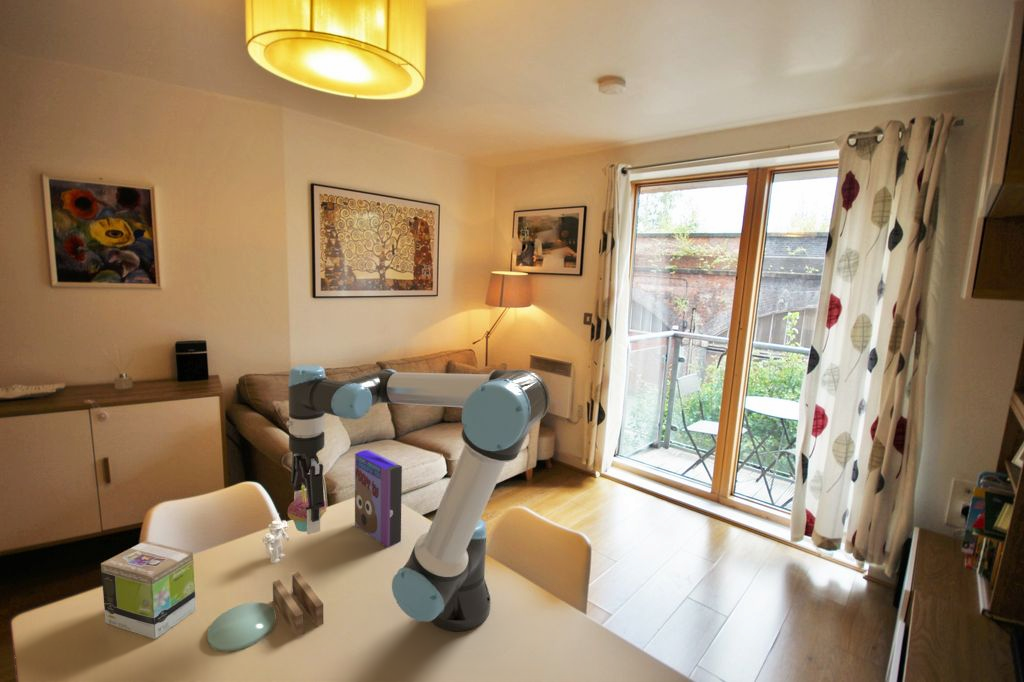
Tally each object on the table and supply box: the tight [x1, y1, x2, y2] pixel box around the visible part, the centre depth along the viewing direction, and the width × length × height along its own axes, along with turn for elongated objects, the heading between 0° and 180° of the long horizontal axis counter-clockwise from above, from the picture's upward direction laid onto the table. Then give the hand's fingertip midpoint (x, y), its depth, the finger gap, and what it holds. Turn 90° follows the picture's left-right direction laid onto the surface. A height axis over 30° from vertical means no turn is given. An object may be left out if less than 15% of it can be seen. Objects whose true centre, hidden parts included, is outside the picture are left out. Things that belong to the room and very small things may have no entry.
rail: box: [272, 579, 304, 638], centre depth 106 cm, size 15×2×5 cm, turn 45°
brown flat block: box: [291, 571, 324, 628], centre depth 109 cm, size 15×2×5 cm, turn 45°
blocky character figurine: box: [262, 512, 290, 564], centre depth 126 cm, size 9×4×12 cm, turn 173°
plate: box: [207, 601, 276, 652], centre depth 102 cm, size 13×13×1 cm
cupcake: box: [287, 483, 327, 533], centre depth 108 cm, size 9×8×12 cm
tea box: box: [100, 540, 197, 640], centre depth 103 cm, size 15×10×15 cm, turn 74°
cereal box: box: [354, 449, 403, 549], centre depth 140 cm, size 17×5×24 cm, turn 50°
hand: (306, 523), depth 109 cm, fingers closed on cupcake, 8 cm apart
